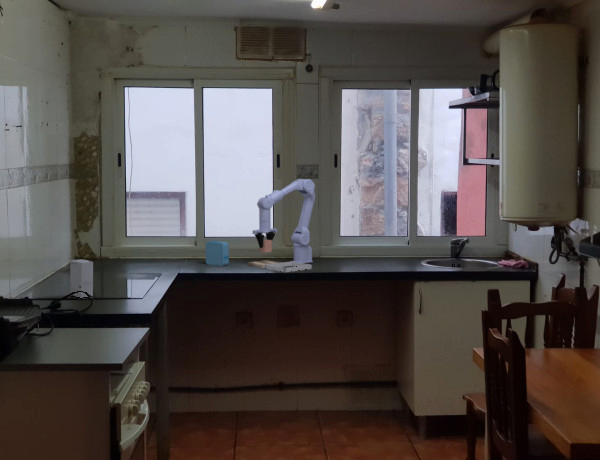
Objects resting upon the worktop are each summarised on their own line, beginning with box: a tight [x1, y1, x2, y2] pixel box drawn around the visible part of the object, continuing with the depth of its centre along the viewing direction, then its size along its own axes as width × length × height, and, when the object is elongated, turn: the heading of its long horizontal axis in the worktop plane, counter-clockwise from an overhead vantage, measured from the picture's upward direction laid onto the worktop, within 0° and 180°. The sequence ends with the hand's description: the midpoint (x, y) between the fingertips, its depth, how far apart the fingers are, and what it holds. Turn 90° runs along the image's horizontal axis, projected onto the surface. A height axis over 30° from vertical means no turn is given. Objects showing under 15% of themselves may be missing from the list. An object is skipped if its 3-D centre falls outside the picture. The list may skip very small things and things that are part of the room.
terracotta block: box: [258, 238, 273, 254], centre depth 396 cm, size 4×4×6 cm
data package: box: [205, 240, 230, 267], centre depth 400 cm, size 12×4×12 cm, turn 56°
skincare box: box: [69, 259, 94, 299], centre depth 311 cm, size 8×6×15 cm
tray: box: [264, 261, 313, 273], centre depth 386 cm, size 18×16×2 cm
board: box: [247, 259, 281, 269], centre depth 398 cm, size 12×12×2 cm
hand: (265, 247), depth 396 cm, fingers closed on terracotta block, 4 cm apart
